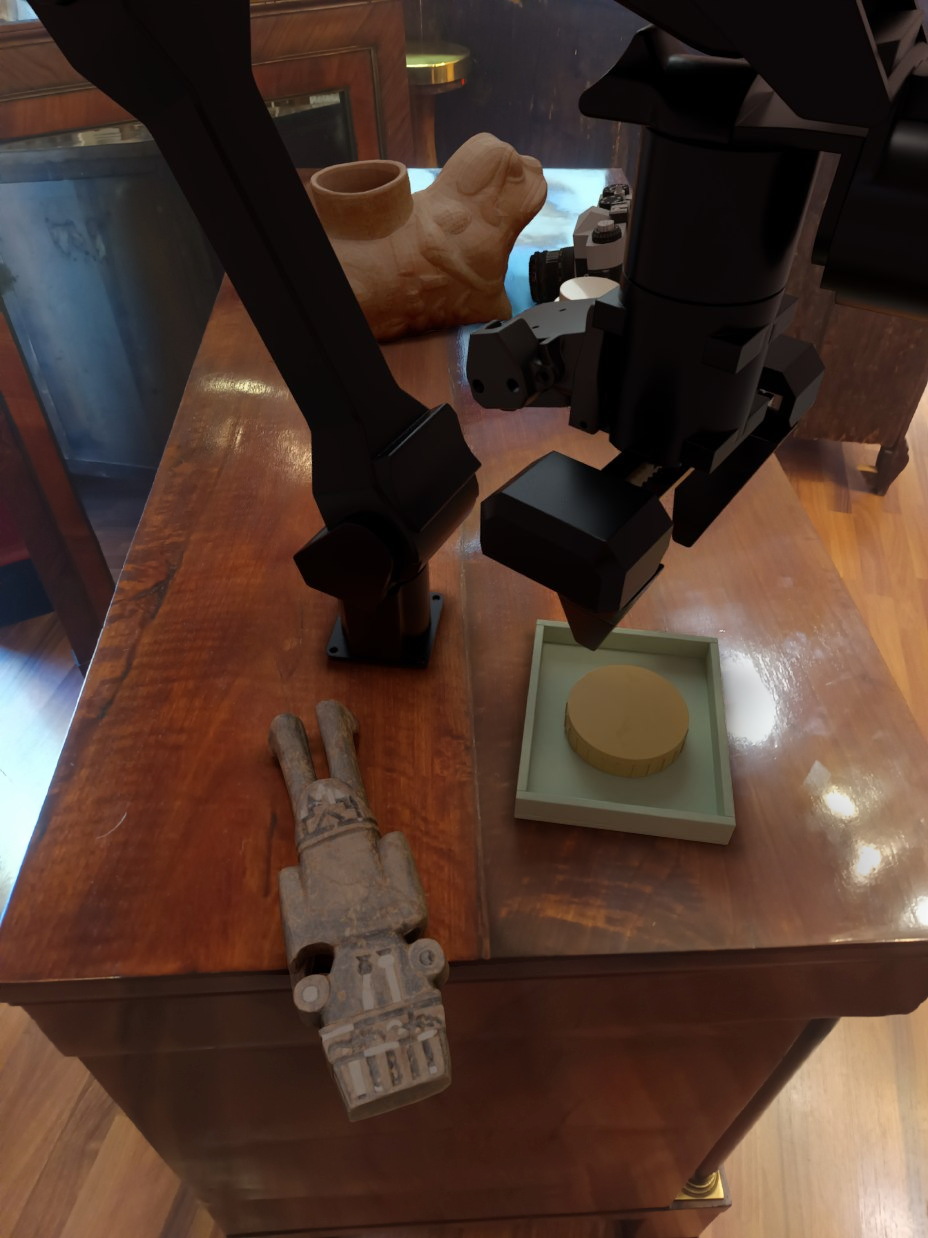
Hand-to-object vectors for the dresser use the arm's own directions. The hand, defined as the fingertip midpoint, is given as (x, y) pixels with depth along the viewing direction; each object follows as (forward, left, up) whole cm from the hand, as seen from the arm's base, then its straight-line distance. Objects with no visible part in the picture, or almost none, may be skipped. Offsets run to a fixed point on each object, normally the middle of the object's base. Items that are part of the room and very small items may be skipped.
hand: (637, 590), depth 40 cm
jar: (+38, +3, -10) cm, 40 cm away
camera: (+55, +4, -11) cm, 57 cm away
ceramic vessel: (+51, +20, -11) cm, 56 cm away
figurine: (-13, +12, -6) cm, 19 cm away
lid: (-1, -1, -9) cm, 9 cm away
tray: (-1, -1, -10) cm, 11 cm away
